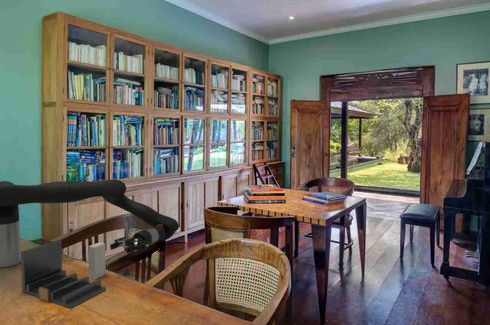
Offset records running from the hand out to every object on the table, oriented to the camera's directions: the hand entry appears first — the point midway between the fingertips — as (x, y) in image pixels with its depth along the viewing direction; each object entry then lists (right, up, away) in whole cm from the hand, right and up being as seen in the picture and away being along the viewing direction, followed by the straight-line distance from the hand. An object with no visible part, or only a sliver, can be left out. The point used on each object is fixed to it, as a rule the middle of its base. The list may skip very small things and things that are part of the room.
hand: (118, 249), depth 142 cm
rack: (-11, -9, -22) cm, 26 cm away
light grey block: (-5, -8, -9) cm, 13 cm away
